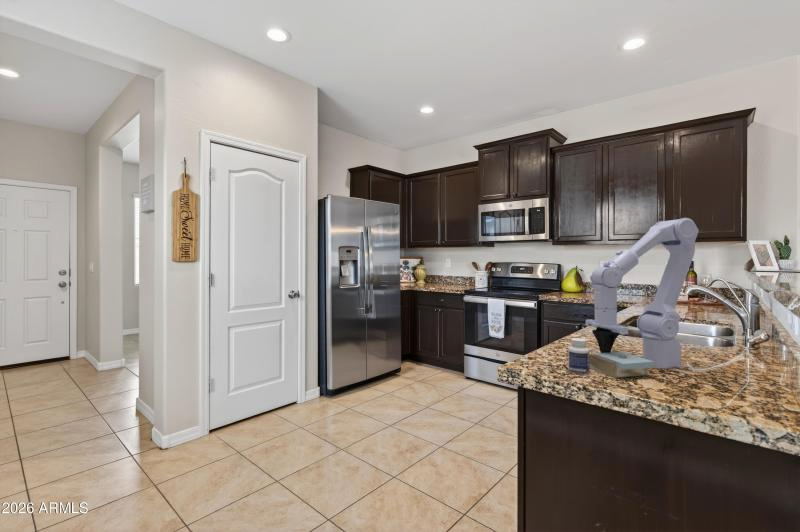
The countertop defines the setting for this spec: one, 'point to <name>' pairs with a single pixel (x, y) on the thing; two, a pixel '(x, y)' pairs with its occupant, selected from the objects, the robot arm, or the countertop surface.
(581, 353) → the pill bottle
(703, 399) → the countertop surface
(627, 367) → the lid
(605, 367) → the box
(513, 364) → the countertop surface
